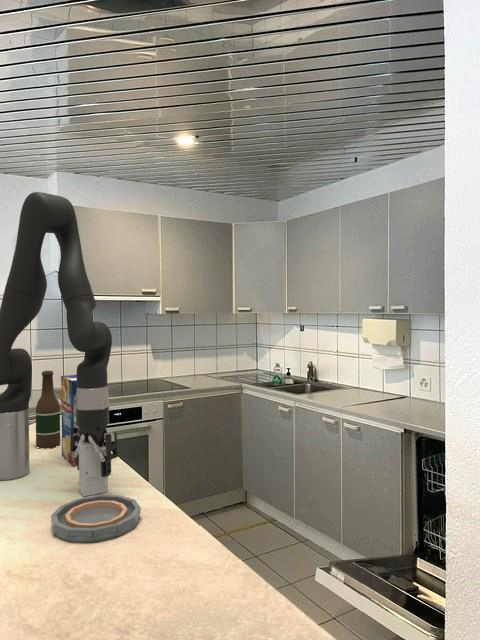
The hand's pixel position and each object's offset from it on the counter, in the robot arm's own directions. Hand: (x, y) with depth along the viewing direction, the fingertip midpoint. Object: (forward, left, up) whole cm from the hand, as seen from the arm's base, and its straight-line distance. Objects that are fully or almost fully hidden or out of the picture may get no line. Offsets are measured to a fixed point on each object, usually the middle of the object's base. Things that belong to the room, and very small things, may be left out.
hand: (93, 473), depth 114 cm
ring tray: (+14, -11, -5) cm, 18 cm away
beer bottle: (-43, +18, -5) cm, 47 cm away
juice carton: (-23, +15, -5) cm, 28 cm away
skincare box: (0, 0, -5) cm, 5 cm away
